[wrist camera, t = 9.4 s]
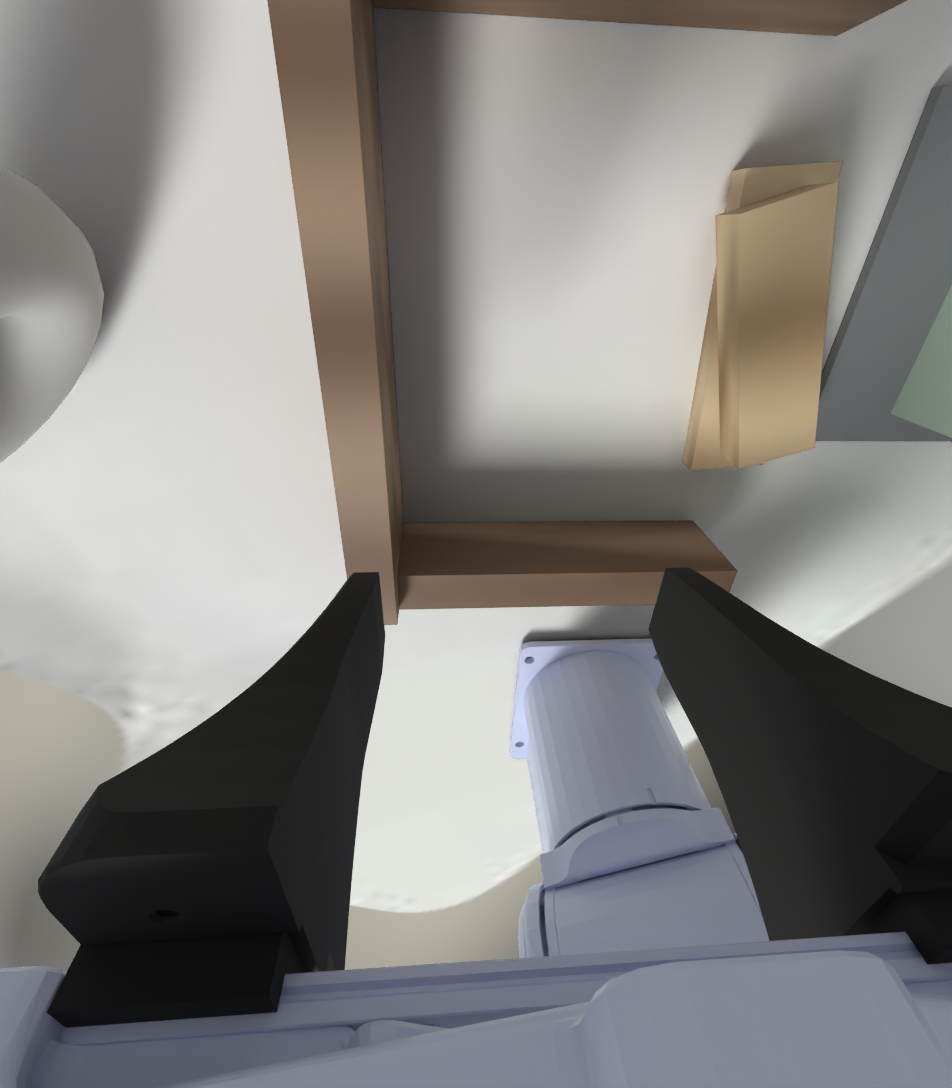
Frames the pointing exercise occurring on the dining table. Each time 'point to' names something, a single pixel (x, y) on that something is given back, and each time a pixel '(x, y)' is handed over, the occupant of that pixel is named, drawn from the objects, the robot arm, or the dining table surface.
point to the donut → (41, 308)
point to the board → (931, 378)
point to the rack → (366, 328)
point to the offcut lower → (705, 406)
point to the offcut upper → (773, 321)
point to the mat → (895, 294)
